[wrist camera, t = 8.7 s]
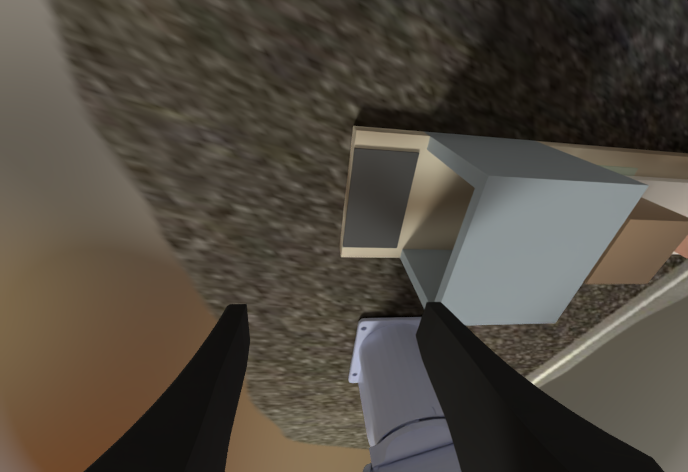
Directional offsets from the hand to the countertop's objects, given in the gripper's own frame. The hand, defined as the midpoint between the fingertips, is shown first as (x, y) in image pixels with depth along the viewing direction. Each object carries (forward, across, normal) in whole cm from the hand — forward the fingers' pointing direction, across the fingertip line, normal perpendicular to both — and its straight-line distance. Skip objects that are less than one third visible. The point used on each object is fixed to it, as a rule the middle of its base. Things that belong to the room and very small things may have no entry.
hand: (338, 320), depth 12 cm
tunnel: (+10, -10, -1) cm, 14 cm away
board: (+10, -15, -1) cm, 18 cm away
